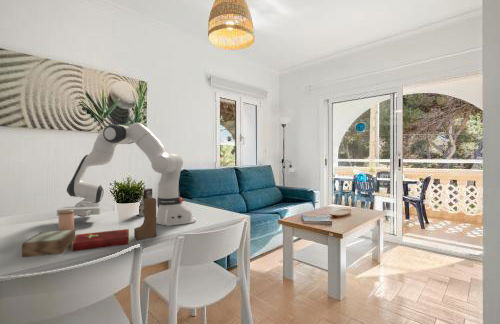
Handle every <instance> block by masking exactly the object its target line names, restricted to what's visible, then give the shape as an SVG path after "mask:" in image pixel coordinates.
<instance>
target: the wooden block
mask: <svg viewBox="0 0 500 324" xmlns="http://www.w3.org/2000/svg"><path fill="white" fill-rule="evenodd" d="M143 217H144V218H143V222H142V224H141V225H140V226H137V227H134V229H133V232H134V233H133V235H134V236H133V238H134V239H135V240H136V241H139V240H145V239H149V238H150V239H151V238H155V237H157V223H156V218H157V199H156V198H155V197H152V198H145V199H144V216H143Z"/></svg>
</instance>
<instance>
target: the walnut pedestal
mask: <svg viewBox="0 0 500 324" xmlns="http://www.w3.org/2000/svg"><path fill="white" fill-rule="evenodd" d="M75 236H76V229H74V230H65V231H59V230H54V231H41V232H38V233H37V234H35V235H34V236H31V238H29V239H27V240H25V241H24V242H22V243H21V257H22V258H24V257H25V258H27V257H36V256H37V257H38V256H49V255H58V254H63V253H64V252H65V251H66V250H67V249H69V248H70V247H71V244H72V241H73V240H74V238H75Z"/></svg>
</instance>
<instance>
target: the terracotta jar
mask: <svg viewBox="0 0 500 324" xmlns="http://www.w3.org/2000/svg"><path fill="white" fill-rule="evenodd" d="M57 217H58V231H65V230H75V215H74V209H65V210H60V211H58V216H57Z"/></svg>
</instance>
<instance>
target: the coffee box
mask: <svg viewBox="0 0 500 324" xmlns="http://www.w3.org/2000/svg"><path fill="white" fill-rule="evenodd" d="M143 189H144V195H143V197H142V200H141V202H140V206H139V217H144V199H145V198H153V188H143Z"/></svg>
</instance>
